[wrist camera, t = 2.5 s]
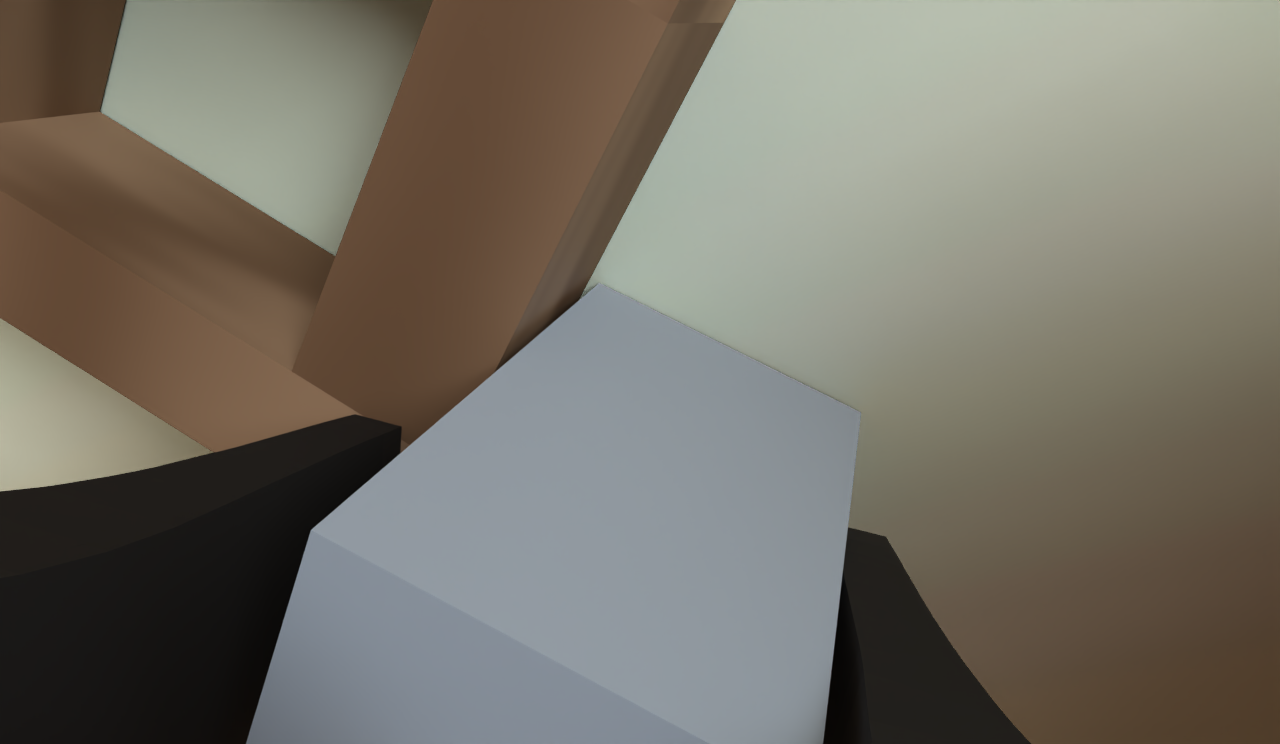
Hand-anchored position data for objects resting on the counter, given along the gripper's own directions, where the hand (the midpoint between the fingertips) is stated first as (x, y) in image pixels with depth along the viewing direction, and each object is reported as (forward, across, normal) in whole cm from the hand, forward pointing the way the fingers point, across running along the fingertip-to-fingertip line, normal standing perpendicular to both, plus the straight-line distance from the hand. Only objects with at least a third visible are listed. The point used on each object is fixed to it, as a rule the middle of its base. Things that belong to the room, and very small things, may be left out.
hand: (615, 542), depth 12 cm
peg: (+2, 0, 0) cm, 2 cm away
